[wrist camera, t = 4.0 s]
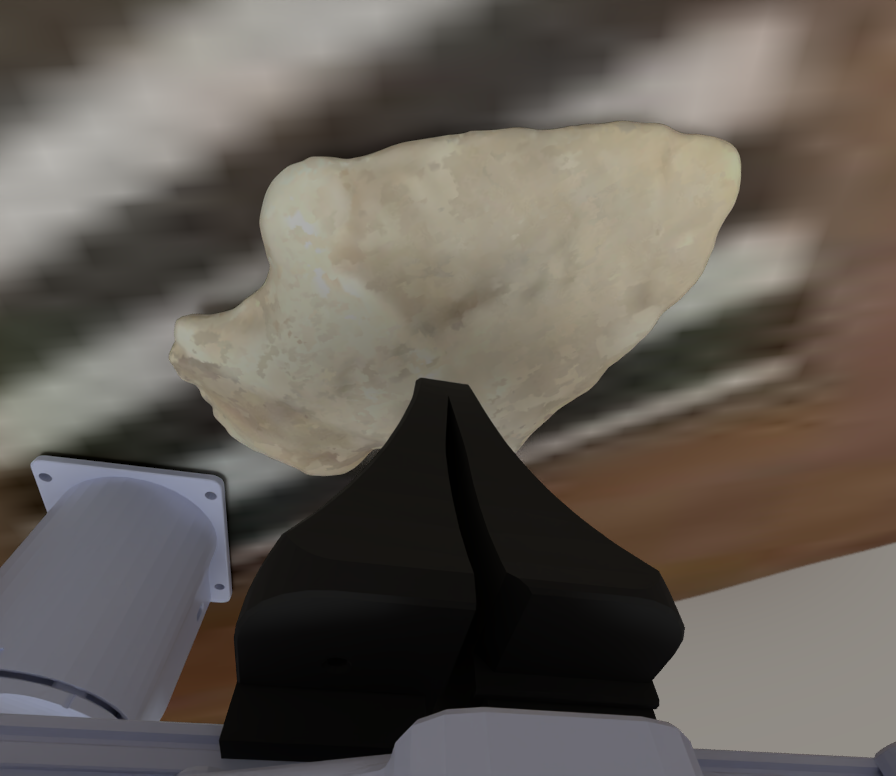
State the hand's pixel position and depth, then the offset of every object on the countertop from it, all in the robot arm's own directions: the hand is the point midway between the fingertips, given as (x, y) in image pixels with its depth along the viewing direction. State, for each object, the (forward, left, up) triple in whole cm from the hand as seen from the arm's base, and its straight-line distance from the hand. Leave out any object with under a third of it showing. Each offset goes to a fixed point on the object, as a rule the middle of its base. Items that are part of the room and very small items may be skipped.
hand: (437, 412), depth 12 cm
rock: (0, 0, -7) cm, 7 cm away
